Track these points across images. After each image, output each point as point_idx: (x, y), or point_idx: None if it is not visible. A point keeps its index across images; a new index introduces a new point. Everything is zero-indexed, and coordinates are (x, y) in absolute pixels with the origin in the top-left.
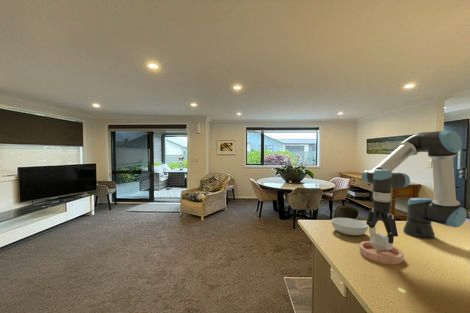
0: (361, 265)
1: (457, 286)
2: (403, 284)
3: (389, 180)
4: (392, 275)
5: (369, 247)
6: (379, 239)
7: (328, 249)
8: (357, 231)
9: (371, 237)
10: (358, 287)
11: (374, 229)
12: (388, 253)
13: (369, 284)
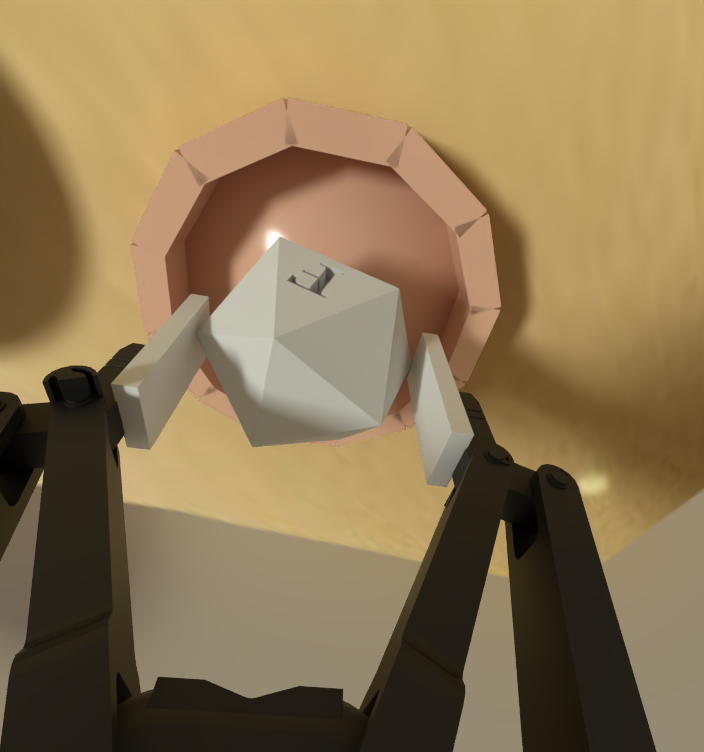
0: (387, 481)
1: None
2: (585, 451)
3: None
4: (520, 433)
5: (202, 287)
6: (346, 434)
7: (195, 501)
8: None
9: (199, 361)
10: (489, 568)
11: (151, 392)
12: (342, 227)
13: (500, 539)
